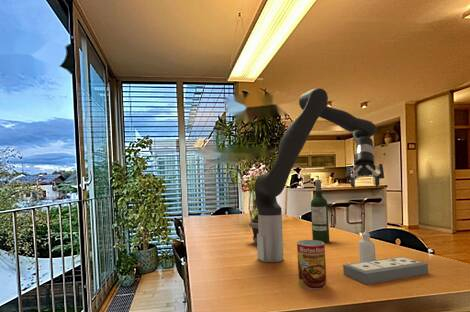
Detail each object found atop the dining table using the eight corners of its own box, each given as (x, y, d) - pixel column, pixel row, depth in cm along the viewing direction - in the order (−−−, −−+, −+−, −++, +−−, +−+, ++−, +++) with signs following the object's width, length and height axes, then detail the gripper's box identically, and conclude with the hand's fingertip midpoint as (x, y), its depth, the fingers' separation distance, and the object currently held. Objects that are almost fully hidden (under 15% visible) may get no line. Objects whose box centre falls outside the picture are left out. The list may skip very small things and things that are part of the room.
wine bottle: (313, 243, 144) (310, 180, 146) (312, 239, 152) (309, 179, 154) (330, 243, 143) (327, 179, 145) (328, 239, 150) (325, 179, 153)
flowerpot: (249, 240, 154) (248, 201, 156) (280, 240, 153) (278, 200, 155) (249, 246, 140) (248, 203, 141) (282, 246, 139) (281, 202, 140)
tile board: (366, 284, 87) (365, 272, 87) (343, 274, 96) (343, 263, 97) (428, 273, 95) (427, 263, 95) (401, 265, 104) (401, 255, 104)
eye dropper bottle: (370, 262, 110) (368, 228, 110) (377, 266, 104) (375, 231, 105) (358, 262, 110) (356, 228, 111) (364, 266, 104) (362, 231, 105)
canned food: (302, 289, 84) (301, 245, 85) (295, 280, 92) (294, 240, 93) (330, 288, 84) (328, 244, 85) (321, 279, 92) (319, 239, 93)
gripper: (345, 152, 132) (344, 181, 121) (381, 149, 125) (383, 178, 114) (348, 164, 136) (347, 192, 126) (383, 161, 129) (385, 191, 119)
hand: (364, 186), depth 120 cm, fingers open, 8 cm apart
